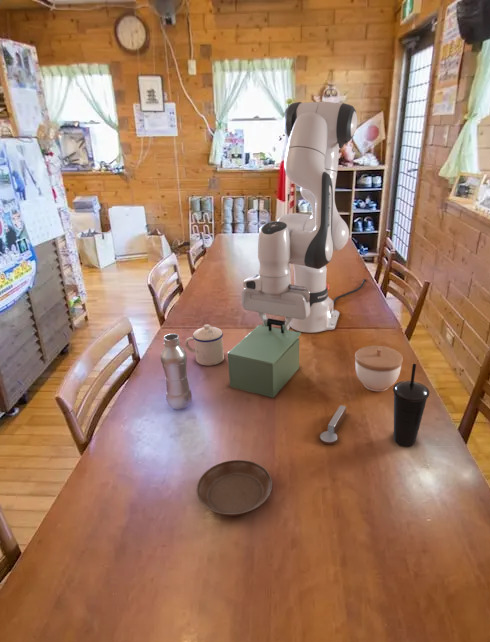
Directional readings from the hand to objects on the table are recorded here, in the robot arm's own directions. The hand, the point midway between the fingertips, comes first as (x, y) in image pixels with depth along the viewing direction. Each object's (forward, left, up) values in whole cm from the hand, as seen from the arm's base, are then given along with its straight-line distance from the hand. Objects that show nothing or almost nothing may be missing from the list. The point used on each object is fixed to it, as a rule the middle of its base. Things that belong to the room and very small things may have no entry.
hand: (276, 327), depth 132 cm
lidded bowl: (-1, +30, -13) cm, 33 cm away
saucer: (+51, +15, -13) cm, 54 cm away
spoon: (+22, +26, -13) cm, 37 cm away
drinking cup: (+20, +42, -13) cm, 48 cm away
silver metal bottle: (+30, -14, -13) cm, 35 cm away
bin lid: (+7, 0, -2) cm, 7 cm away
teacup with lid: (+6, -22, -13) cm, 26 cm away
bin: (+8, 0, -13) cm, 15 cm away
